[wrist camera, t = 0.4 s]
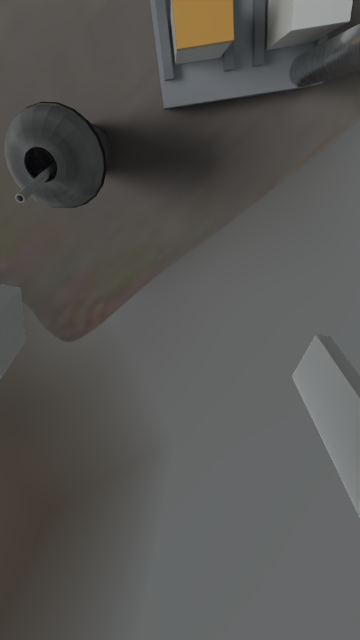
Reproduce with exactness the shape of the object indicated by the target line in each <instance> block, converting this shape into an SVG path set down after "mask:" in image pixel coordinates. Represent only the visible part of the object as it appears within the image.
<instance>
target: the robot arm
mask: <svg viewBox="0 0 360 640" xmlns="http://www.w3.org/2000/svg"><path fill="white" fill-rule="evenodd" d="M24 341H25V331H24V320H23V309H22V299H21V288H20V287H15V286H9V285H3V284H0V379H1V378H2V376H3V374H4V373H5V371H6V370H7V368H8V367H9V365H10V364H11V362H12V361H13V359H14V357H15V356H16V354H17V353H18V351H19V349H20V348H21V346H22V345H23V343H24ZM292 378H293V380H294V382H295V384H296V386H297V388H298V390H299V392H300V394H301V397H302V398H303V401H304V403H305V405H306V407H307V409H308V411H309V413H310V415H311V417H312V419H313V421H314V423H315V426H316V428H317V430H318V432H319V434H320V436H321V438H322V440H323V442H324V444H325V446H326V448H327V451H328V453H329V455H330V457H331V459H332V461H333V463H334V465H335V467H336V469H337V471H338V474H339V475H340V478H341V480H342V482H343V484H344V486H345V488H346V490H347V492H348V494H349V496H350V498H351V501H352V503H353V505H354V507H355V509H356V511H357V513H358V515H359V517H360V376H359V374H358V373H357V371H356V370H355V369H354V367H353V366H352V365H351V363H350V362H349V361H348V360H347V358H346V357H345V355H344V354H343V353H342V351H341V350H340V349H339V347H338V346H337V345H336V343H335V342H334V341H333V339H332V338H331V337H329V336H323V335H315V337H314V339H313V340H312V342H311V344H310V346H309V347H308V349H307V351H306V353H305V354H304V356H303V358H302V359H301V361H300V363H299V365H298V366H297V368H296V370H295V372H294V373H293V375H292Z"/></svg>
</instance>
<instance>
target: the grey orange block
mask: <svg viewBox="0 0 360 640" xmlns="http://www.w3.org/2000/svg"><path fill="white" fill-rule="evenodd" d="M170 19H171V29H172V39H173V48H174V58H175V65H177V64H183V63H190V62H196V61H202V60H208V59H215V58H220V57H221V56H222V54H223V53H224V52H225V50H226V49H227V48H228V47H229V45H230V44H231V43H232V42H233V40H234V23H233V0H171V15H170Z"/></svg>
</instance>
